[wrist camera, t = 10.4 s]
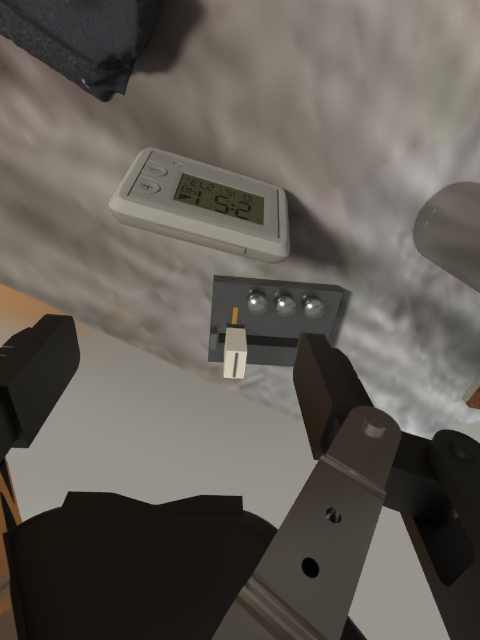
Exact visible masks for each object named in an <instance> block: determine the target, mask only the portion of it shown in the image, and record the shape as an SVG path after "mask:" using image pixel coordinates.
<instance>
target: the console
mask: <svg viewBox="0 0 480 640" xmlns="http://www.w3.org/2000/svg"><path fill="white" fill-rule="evenodd" d="M342 294H343V291H342V290H341V289H340V287H339V286H338V285H327V284H315V283H302V282H290V281H278V280H266V279H254V278H242V277H230V276H218V275H214V282H213V296H212V311H211V326H210V340H209V355H208V361H209V362H224V348H225V338H226V328H240V329H245V333H246V344H247V357H246V364H258V365H275V366H291V367H294V364H295V359H296V355H297V351H298V347H299V343H300V338H301V335H302V334H303V333H317V334H324V335H325V336H326V338H327V340H328V342H329V339H330V335H331V332H332V328H333V325H334V322H335V318H336V315H337V311H338V308H339V304H340V301H341V298H342Z"/></svg>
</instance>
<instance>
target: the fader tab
mask: <svg viewBox="0 0 480 640" xmlns="http://www.w3.org/2000/svg"><path fill="white" fill-rule="evenodd" d="M246 357H247V344H246V333H245V329H240V328H226V338H225V348H224V377H225V378H242V379H243V378H244V371H245V364H246Z"/></svg>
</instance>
